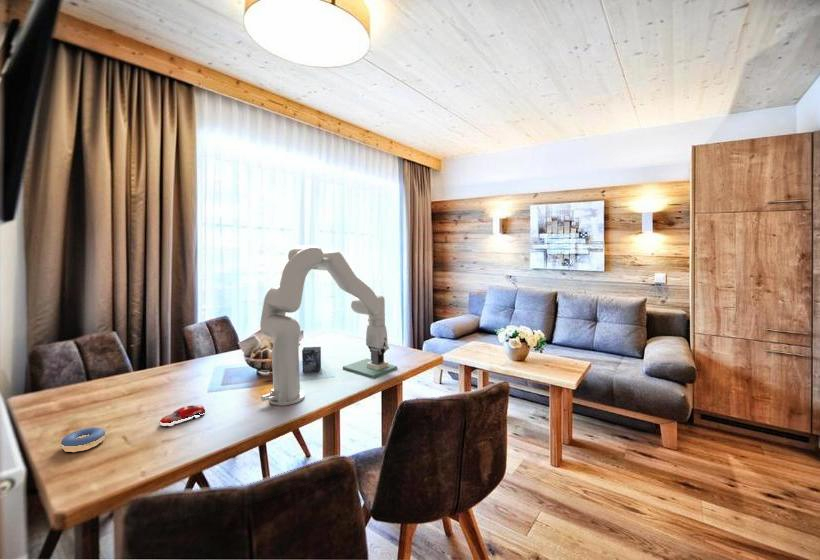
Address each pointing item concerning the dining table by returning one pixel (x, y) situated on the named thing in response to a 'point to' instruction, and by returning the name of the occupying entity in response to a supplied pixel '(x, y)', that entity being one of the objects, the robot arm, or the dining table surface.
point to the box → (311, 359)
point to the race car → (183, 413)
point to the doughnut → (93, 436)
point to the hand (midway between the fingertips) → (377, 360)
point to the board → (370, 368)
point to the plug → (375, 356)
